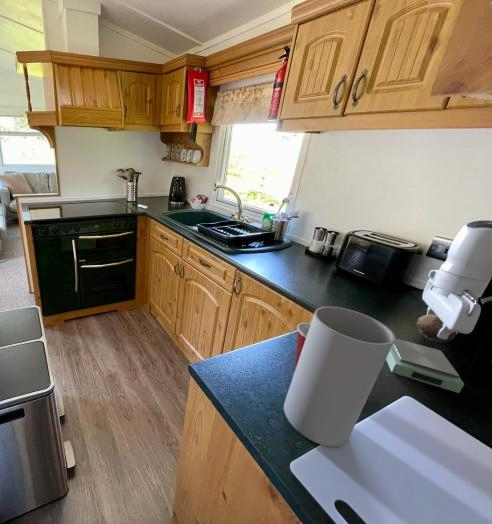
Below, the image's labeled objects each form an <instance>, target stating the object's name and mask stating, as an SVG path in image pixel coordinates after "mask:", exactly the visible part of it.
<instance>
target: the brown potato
mask: <svg viewBox="0 0 492 524" xmlns="http://www.w3.org/2000/svg"><path fill="white" fill-rule="evenodd" d="M442 325H443V322H442V321H441V320H440V318H439V317H438V316H437V315H427V314H426V315H422V316H420V317H418V318H417V320H416V328H417V330H418V332H419V333H420V334H421V335H422V336H424V337H425V338H426V339H428V340H430V341H433V342H436V343H449V342H451V341H452V340H454V339H455V337H456V334H457V332H455V331H454V332H453V333H451V334H449V336H448V338H447V339H441V338H438V336H437V335H436V333H437V331H438V329H439V330H440V329H441V328H442V327H443V326H442Z"/></svg>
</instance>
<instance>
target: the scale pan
mask: <svg viewBox="0 0 492 524" xmlns="http://www.w3.org/2000/svg"><path fill="white" fill-rule="evenodd" d="M392 346H393V348H394V350H395V352H396V354H397V356H398V358H399V360H400V361H401V362H404V363H407V364H411V365H414V366H418V367H421V368H424V369H428V370H431V371H435V372H438V373H441V374H445V375H448V376H452V377H455V378H460V375H459V373H458V372H457V370H456V369H455V368H454V366H453V365H452V364H451V362H450V361H449V359H448V358H447V357H446V356H445V354H444V353H443V351H442V350H439V349H437V348H432V347H429V346H425V345H422V344H418V343H414V342H411V341H407V340H403V339H400V338H396V337H395V341H394V343H393V345H392Z"/></svg>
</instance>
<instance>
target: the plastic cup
mask: <svg viewBox="0 0 492 524" xmlns="http://www.w3.org/2000/svg"><path fill="white" fill-rule="evenodd" d="M310 325H311V322H300V323H298V324H297V325H296V329H297V342H296V351H295V368H296V367H297V364H298V361H299V358H300V355H301V352H302V349H303V346H304V343H305V340H306V337H307V334H308V331H309V328H310Z"/></svg>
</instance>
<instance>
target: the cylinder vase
mask: <svg viewBox="0 0 492 524" xmlns="http://www.w3.org/2000/svg"><path fill="white" fill-rule="evenodd" d="M310 323H311V325H310V328H309V331H308V334H307V337H306V340H305V343H304V346H303V349H302V352H301V355H300V358H299V361H298V364H297V367H296V366H295V370H294V373H293V376H292V380H291V382H290V385H289V387H288V391H287V395H286V397H285V399H284V404H283V411H284V414H285V417H286V419H287V421H288V423H290V425H291V426H292V427H293V429H294V430H296V432H298V433H299V434H300V435H302V436H303V437H305V438H306V439H308V440H309V441H312V442H313V443H316V444H318V445H321V446H324V447H341V446H342V445H345V444H346V443H347V442H348V440H349V439H350V436H351V435H352V432H353V431H354V428H355V426H356V424H357V422H358V420H359V417H360V415H361V413H362V411H363V409H364V407H365V405H366V402H367V400H368V398H369V397H370V394H371V392H372V390H373V388H374V385H375V384H376V382H377V379H378V377H379V374H381V370H382V369H383V366H384V365H385V362H386V361H387V360H386V358H387V356H388V354H389V352H390V349H391V347H392V345H393V343H394V341H395V338H396V335H395V334H394V332H393V331H392V329H390V328H389V327H388V326H387V325H386V324H384V323H382V322H380V321H379V320H377V319H375V318H373V317H371V316H369V315H366V314H364V313H362V312H359V311H356V310H352V309H349V308H344V307H339V306H321V307H318V308H317V309H315V310H314V313H313V316H312V319H311V322H310Z"/></svg>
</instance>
